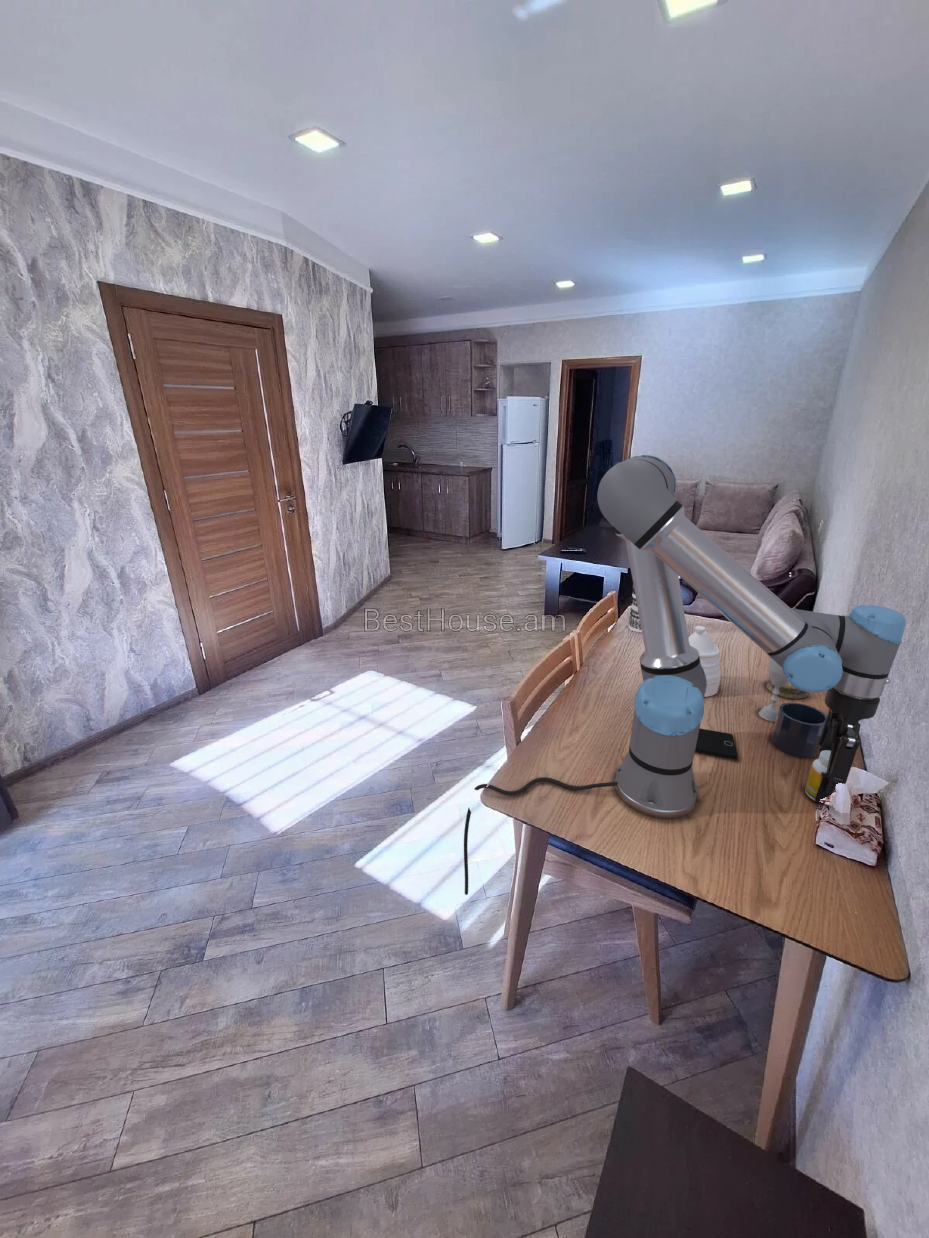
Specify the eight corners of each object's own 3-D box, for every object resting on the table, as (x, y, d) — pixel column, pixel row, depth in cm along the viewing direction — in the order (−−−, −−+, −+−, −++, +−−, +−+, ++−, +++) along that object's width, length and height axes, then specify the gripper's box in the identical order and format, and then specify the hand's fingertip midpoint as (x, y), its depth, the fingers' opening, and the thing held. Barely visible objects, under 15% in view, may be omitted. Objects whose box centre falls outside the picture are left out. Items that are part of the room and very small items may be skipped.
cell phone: (737, 759, 109) (738, 756, 109) (650, 744, 115) (650, 740, 114) (731, 737, 117) (732, 733, 117) (650, 723, 122) (650, 720, 122)
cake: (792, 704, 131) (795, 687, 129) (757, 688, 139) (760, 671, 137) (817, 693, 134) (821, 676, 132) (781, 678, 143) (785, 661, 141)
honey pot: (704, 702, 132) (717, 639, 125) (659, 684, 141) (668, 625, 134) (725, 685, 139) (738, 626, 133) (681, 669, 148) (691, 613, 142)
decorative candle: (636, 620, 184) (644, 554, 174) (659, 628, 177) (669, 559, 168) (621, 627, 178) (629, 559, 169) (645, 635, 172) (655, 564, 162)
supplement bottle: (817, 784, 102) (829, 745, 99) (843, 801, 98) (857, 761, 94) (797, 790, 100) (809, 751, 97) (823, 808, 96) (837, 767, 92)
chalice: (790, 725, 121) (809, 659, 115) (760, 722, 123) (776, 656, 116) (779, 709, 128) (796, 645, 121) (750, 706, 129) (765, 643, 123)
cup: (797, 761, 109) (807, 728, 106) (761, 737, 117) (769, 706, 114) (828, 752, 112) (838, 720, 108) (791, 730, 120) (800, 699, 116)
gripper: (894, 721, 81) (853, 831, 90) (868, 672, 96) (835, 770, 105) (838, 710, 84) (804, 818, 93) (822, 664, 99) (794, 760, 108)
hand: (821, 792), depth 99 cm, fingers closed on supplement bottle, 5 cm apart
